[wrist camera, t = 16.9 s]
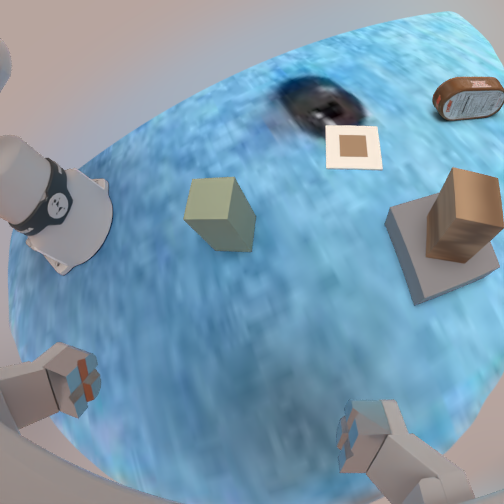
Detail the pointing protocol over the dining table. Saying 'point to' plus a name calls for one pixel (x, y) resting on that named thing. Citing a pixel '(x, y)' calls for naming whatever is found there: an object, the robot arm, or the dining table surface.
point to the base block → (428, 269)
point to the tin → (468, 98)
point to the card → (353, 148)
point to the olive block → (221, 214)
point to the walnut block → (464, 216)
